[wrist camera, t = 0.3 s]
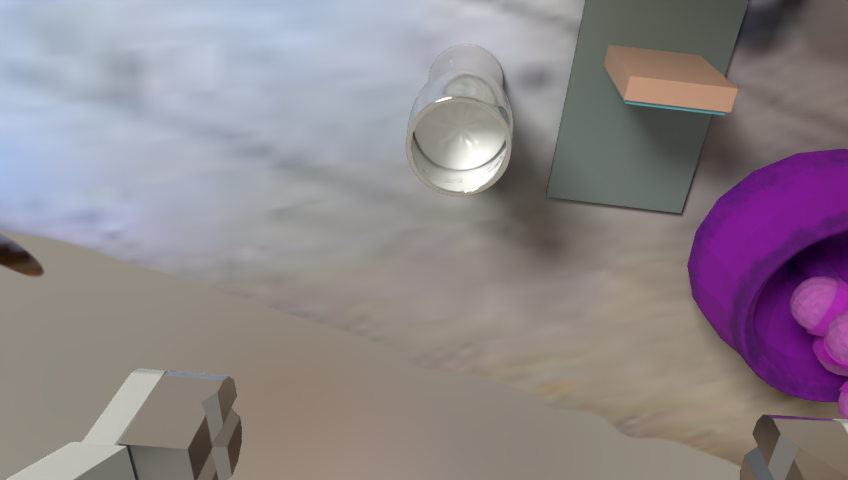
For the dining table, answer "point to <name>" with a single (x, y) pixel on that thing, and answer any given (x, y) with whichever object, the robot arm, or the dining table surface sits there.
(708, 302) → the decorative plant
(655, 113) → the mat
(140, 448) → the robot arm
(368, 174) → the dining table surface
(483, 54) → the beer glass
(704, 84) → the tile
